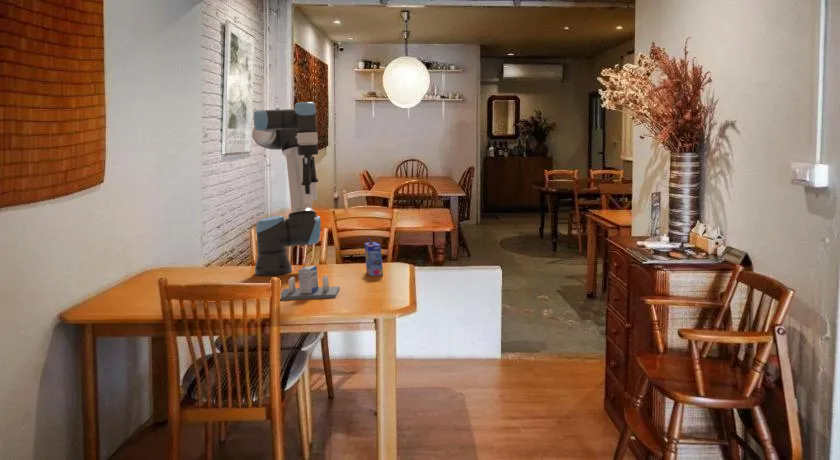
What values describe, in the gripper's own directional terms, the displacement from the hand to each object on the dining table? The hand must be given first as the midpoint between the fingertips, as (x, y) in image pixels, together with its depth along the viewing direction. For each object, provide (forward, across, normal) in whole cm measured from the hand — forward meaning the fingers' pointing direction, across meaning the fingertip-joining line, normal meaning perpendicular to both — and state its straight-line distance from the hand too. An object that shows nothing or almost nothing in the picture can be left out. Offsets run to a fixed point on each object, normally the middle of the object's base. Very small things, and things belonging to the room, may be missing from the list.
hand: (311, 201), depth 293 cm
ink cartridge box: (+32, -17, +21) cm, 42 cm away
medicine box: (+31, +19, 0) cm, 36 cm away
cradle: (+32, +19, 0) cm, 37 cm away
